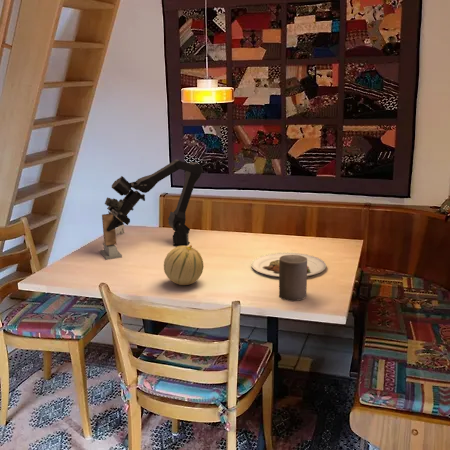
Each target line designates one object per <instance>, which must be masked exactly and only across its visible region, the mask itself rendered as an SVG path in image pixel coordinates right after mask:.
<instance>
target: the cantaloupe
mask: <svg viewBox="0 0 450 450" xmlns="http://www.w3.org/2000/svg"><path fill="white" fill-rule="evenodd" d="M163 271H164V274H165V275H166V278H167V279H169V280H170V281H171V282H173V283H174V284H176V285H180V286H188V285H192V284H194V283H196V282H197V281H198V279H200V277H201V275H202V274H203V271H204V260H203V257H202V255H201V253H200V252H199V251H198V250H197V249H196V248H194V247H193V245H192V244H191V245H187V246H174V248H173V249H171V250H170V251H169V252H168V253H167V254H166V256H165V258H164V261H163Z"/></svg>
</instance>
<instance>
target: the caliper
mask: <svg viewBox="0 0 450 450" xmlns="http://www.w3.org/2000/svg"><path fill="white" fill-rule="evenodd" d="M115 232H116V235H119V234H120V235H124V234H125V224H124V225H121V226H119V227H117V228H115ZM102 245H104V242H103V243H102Z"/></svg>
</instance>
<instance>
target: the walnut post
mask: <svg viewBox="0 0 450 450" xmlns="http://www.w3.org/2000/svg"><path fill="white" fill-rule="evenodd" d="M101 219H102V231H103V233H102V235H103V243H105V245H106V246H107V245H117V234H116V232H115V230H116V228H115V229H113V230H111V231H107V228H108V226H109V225H110V223H111V222H112V220H113V214H109V213H106V214H105V213H104V214H101Z"/></svg>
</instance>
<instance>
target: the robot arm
mask: <svg viewBox="0 0 450 450" xmlns="http://www.w3.org/2000/svg"><path fill="white" fill-rule="evenodd" d="M179 170H181V171H185V173H184V178H185V180H184V184H183V186H182V190H181V193H180V196H179V199H178V202H177V206H176V208H175V210H174V211H170V212H169V217H168V218H167V220H168V226H169V227H170V228H172V230H173V235H172V246H174V247H178V246H189V244H190V241H189V233H190V227H188V225H186V221H187V220H186V219H187V217H186V212H187V209H188V205H189V203H190V199H191V197H192V193H193V191H194V187H195V184H196V183H197V181H198V180H199V179H200V177H201V176H202V174H203V171H204V170H203V166H202V164H200V163H198V162H195V161H194V162H193V161H191V162H185V161H182V160H179V159H174V160H173V161H171V162H169V163H168V164H167V165H165V166H163V167H162V168H160V169H158V170H157V171H155V172H154V173H151V174H148V175H145V176H142V177H139V178H137V179H136V181H132V182H129V181H128V180H127V179H126V178H125V177H124V176H122V175H121V176H120V177H119V178H117V179H116V180H115V181H114V182H113V183H112V184H111V189H112V190H114V191H115V192H116V193H118V194H119V195H120V196H121V197H122V196H124V197H123V198H121V199H119V200H118V199H116V198H114V197H113V198H111V197H106V200H105V202H104V205H105V206H107V210H108V213H107V214H113V220H112V222H111V223H110V225H109V226H108V228H107V231H111V230H113V229H115V230H116V229H117V228H118V227H119V226H121V225H124V226H125V225H126V226H128V225H129V224H130V223H131V219H130V218H129V216H128V214H129V213H130V212H131V211H134V207H135V206H136V205H137V204H138V203H139V201H140V200H141V201H143V202H145V201H146V197H145V196H146V195H145V194H146V193H148V192H150V191H151V190H152V189H153V188H155V186H156V185H157V184H158V183H160V182H161V181H162V180H164V179H165V178H167V177H168V176H170V175H172V174H173V173H175V172H177V171H179ZM140 192H141V193H142V194H141V193H140Z"/></svg>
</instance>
